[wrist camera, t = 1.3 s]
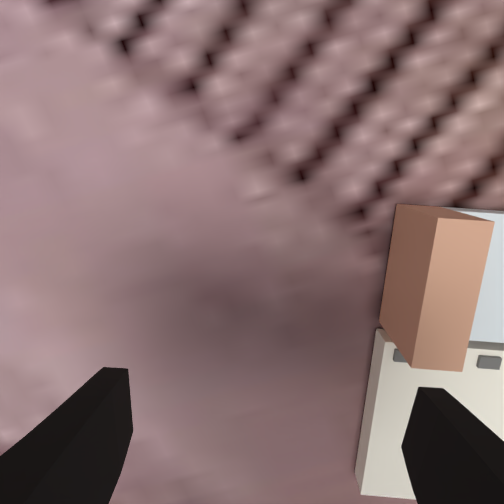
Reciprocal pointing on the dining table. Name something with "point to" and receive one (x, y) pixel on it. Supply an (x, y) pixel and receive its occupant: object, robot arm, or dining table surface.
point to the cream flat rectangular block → (401, 402)
